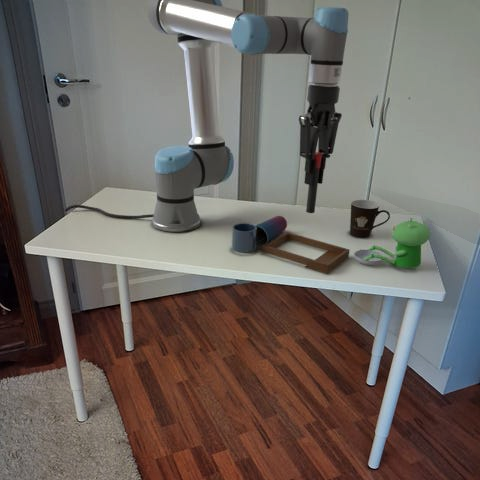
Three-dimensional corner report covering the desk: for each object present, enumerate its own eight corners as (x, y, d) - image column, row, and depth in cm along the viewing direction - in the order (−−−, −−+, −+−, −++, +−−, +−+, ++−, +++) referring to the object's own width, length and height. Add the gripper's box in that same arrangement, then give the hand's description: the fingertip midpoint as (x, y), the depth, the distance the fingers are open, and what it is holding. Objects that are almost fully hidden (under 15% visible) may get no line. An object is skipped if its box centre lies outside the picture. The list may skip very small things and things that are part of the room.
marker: (303, 212, 129) (309, 153, 121) (308, 209, 131) (314, 151, 123) (312, 214, 128) (319, 154, 120) (316, 211, 130) (323, 153, 122)
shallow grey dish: (353, 265, 132) (354, 259, 131) (353, 254, 138) (354, 248, 137) (382, 269, 130) (383, 262, 129) (381, 257, 137) (383, 251, 136)
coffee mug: (341, 234, 152) (345, 203, 147) (355, 227, 158) (360, 197, 152) (373, 244, 145) (379, 213, 140) (386, 237, 151) (393, 206, 146)
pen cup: (226, 250, 138) (227, 228, 134) (240, 243, 143) (241, 221, 139) (246, 257, 134) (247, 234, 131) (260, 249, 139) (261, 226, 136)
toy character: (359, 255, 141) (363, 212, 134) (424, 260, 136) (431, 216, 129) (357, 268, 133) (361, 224, 126) (425, 274, 128) (433, 228, 121)
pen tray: (262, 253, 137) (263, 245, 135) (286, 239, 146) (287, 232, 145) (327, 274, 127) (328, 265, 125) (348, 257, 136) (349, 249, 135)
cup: (287, 236, 150) (265, 251, 139) (268, 230, 153) (245, 244, 141) (291, 216, 147) (269, 229, 135) (272, 210, 149) (249, 222, 138)
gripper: (313, 87, 106) (302, 191, 119) (357, 85, 115) (343, 182, 127) (289, 84, 111) (282, 184, 124) (334, 81, 120) (322, 175, 132)
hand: (313, 183), depth 125 cm, fingers closed on marker, 3 cm apart
